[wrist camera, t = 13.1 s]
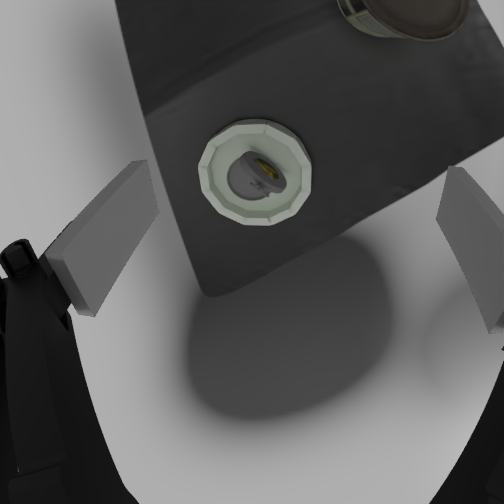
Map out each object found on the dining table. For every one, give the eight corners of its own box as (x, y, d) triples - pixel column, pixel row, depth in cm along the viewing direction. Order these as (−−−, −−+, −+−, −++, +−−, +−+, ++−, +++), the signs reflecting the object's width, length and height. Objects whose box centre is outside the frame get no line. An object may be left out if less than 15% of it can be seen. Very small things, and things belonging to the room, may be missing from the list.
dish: (198, 121, 40) (192, 127, 37) (310, 118, 38) (311, 124, 35) (212, 213, 49) (207, 224, 47) (309, 215, 47) (309, 226, 44)
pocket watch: (227, 195, 45) (211, 235, 38) (228, 140, 40) (209, 171, 32) (284, 201, 45) (280, 244, 37) (290, 146, 39) (287, 178, 32)
